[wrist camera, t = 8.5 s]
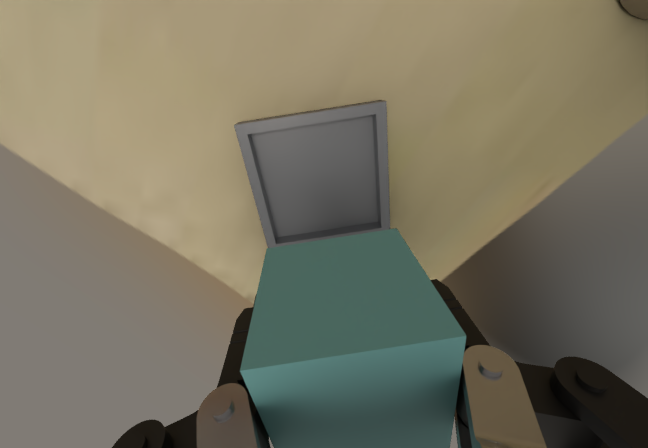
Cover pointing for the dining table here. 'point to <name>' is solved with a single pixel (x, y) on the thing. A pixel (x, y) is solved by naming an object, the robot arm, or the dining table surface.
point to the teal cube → (352, 347)
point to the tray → (319, 172)
